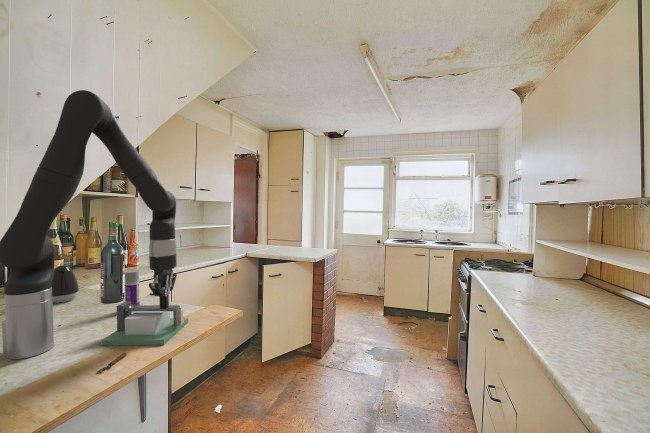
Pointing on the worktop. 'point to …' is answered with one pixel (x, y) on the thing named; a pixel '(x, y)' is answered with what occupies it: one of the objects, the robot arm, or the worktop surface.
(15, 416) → the worktop surface
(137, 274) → the container
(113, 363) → the can opener
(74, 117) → the robot arm
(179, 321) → the strap
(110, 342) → the cpu board
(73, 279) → the black tall dome
